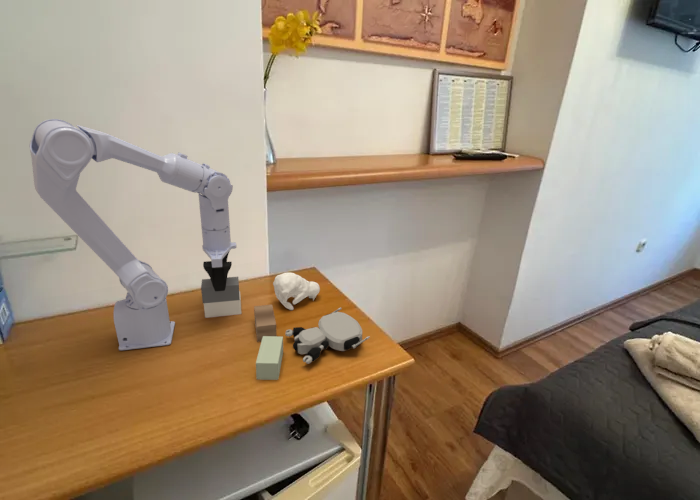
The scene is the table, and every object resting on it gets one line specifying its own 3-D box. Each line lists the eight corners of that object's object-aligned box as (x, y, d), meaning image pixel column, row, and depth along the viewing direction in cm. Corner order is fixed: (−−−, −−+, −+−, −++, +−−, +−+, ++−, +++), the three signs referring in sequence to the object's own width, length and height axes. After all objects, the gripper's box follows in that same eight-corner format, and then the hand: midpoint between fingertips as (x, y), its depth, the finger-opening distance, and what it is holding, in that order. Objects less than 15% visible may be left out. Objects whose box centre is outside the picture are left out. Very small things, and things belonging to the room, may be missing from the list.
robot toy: (306, 377, 74) (371, 350, 81) (304, 358, 72) (372, 333, 79) (283, 341, 84) (343, 320, 90) (281, 324, 82) (343, 304, 89)
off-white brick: (205, 318, 88) (203, 303, 87) (206, 308, 92) (204, 294, 90) (241, 314, 91) (240, 299, 89) (240, 305, 94) (240, 291, 92)
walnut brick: (276, 340, 83) (276, 324, 81) (257, 342, 82) (256, 326, 80) (272, 319, 90) (272, 304, 88) (254, 321, 89) (254, 306, 87)
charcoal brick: (202, 303, 87) (201, 287, 85) (203, 294, 90) (202, 279, 88) (239, 300, 89) (238, 284, 87) (239, 291, 92) (238, 276, 91)
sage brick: (278, 380, 72) (278, 363, 70) (256, 380, 72) (255, 363, 70) (283, 352, 79) (283, 336, 78) (263, 352, 79) (262, 336, 77)
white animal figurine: (271, 269, 93) (315, 264, 100) (269, 301, 96) (311, 293, 103) (282, 281, 88) (327, 274, 95) (279, 313, 91) (323, 305, 98)
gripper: (235, 237, 77) (239, 296, 83) (234, 214, 90) (237, 266, 95) (198, 239, 75) (204, 299, 81) (202, 215, 88) (207, 268, 93)
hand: (220, 282), depth 88 cm, fingers open, 7 cm apart
